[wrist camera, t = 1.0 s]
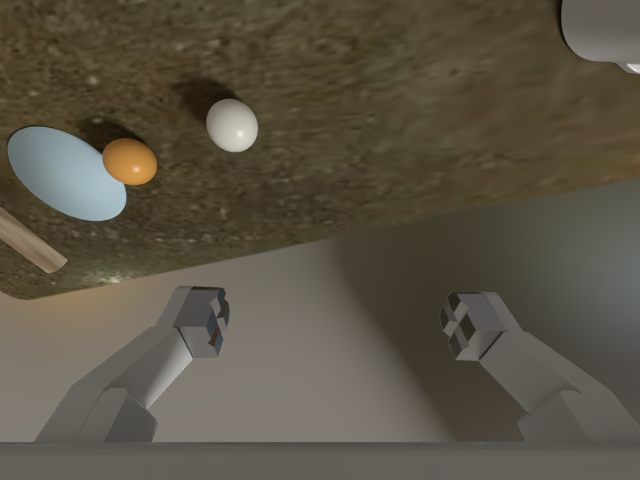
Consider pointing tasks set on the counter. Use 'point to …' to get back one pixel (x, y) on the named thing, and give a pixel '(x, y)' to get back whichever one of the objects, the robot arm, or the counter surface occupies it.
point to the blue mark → (65, 173)
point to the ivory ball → (232, 125)
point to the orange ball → (129, 161)
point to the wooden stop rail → (29, 243)
